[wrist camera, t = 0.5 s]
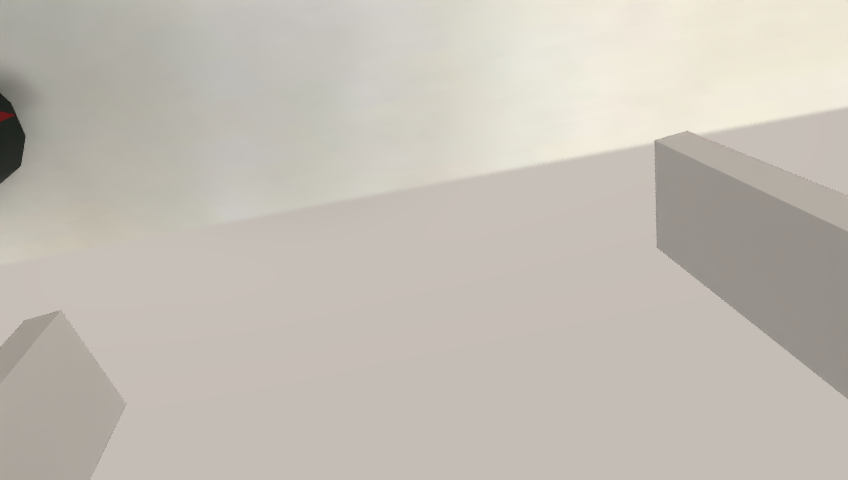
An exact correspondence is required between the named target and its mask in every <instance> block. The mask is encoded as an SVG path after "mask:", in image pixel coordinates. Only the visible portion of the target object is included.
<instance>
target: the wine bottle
mask: <svg viewBox="0 0 848 480" xmlns="http://www.w3.org/2000/svg"><path fill="white" fill-rule="evenodd" d="M24 142H25V134H24V132H23V129H22V127H21V125H20V123H19V121H18V118H17V116H16V114H15V112H14V109H13V107H12V105H11V103H10V102H9V101H8V100H7V99H6V98H5V97H3V96H2V95H1V94H0V183H2V182H3V181H4V180H5V179H6V178H7V177H8V176H10V175H11V174H12V173H13V172H14V171H15V170H17V169H18V168H19V167H20V166H21V161H22V154H23V148H24Z"/></svg>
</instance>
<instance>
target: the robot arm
mask: <svg viewBox="0 0 848 480" xmlns="http://www.w3.org/2000/svg"><path fill="white" fill-rule="evenodd" d="M655 182H656V227H657V228H656V229H657V248H658V249H660V250H661V251H662V252H663V253H665V254H666V255H667V256H668V257H670V258H671V259H672V260H673V261H675V262H676V263H677V264H678V265H680V266H681V267H682V268H683V269H685V270H686V271H687V272H688V273H690V274H691V275H692V276H694V277H695V278H696V279H697V280H699V281H700V282H701V283H702V284H704V285H705V286H706V287H707V288H709V289H710V290H711V291H712V292H714V293H715V294H716V295H718V296H719V297H720V298H721V299H722V300H724V301H725V302H726V303H728V304H729V305H730V306H731V307H733V308H734V309H735V310H736V311H738V312H739V313H740V314H741V315H743V316H744V317H745V318H747V319H748V320H749V321H750V322H751V323H753V324H754V325H755V326H757V327H758V328H759V329H760V330H762V331H763V332H764V333H765V334H767V335H768V336H769V337H771V338H772V339H773V340H774V341H776V342H777V343H778V344H779V345H780V346H782V347H783V348H784V349H786V350H787V351H788V352H789V353H791V354H792V355H793V356H794V357H796V358H797V359H798V360H799V361H801V362H802V363H803V364H804V365H806V366H807V367H808V368H809V369H811V370H812V371H813V372H814V373H816V374H817V375H818V376H820V377H821V378H822V379H823V380H825V381H826V382H827V383H828V384H830V385H831V386H832V387H833V388H835V389H836V390H837V391H838V392H840V393H841V394H842V395H844V396H845V397H846V398H847V399H848V195H845V194H843V193H840V192H838V191H835V190H833V189H830V188H828V187H825V186H823V185H820V184H818V183H815V182H813V181H811V180H808V179H805V178H803V177H801V176H798V175H796V174H793V173H791V172H788V171H785V170H783V169H781V168H778V167H776V166H773V165H770V164H768V163H766V162H763V161H761V160H758V159H756V158H753V157H751V156H748V155H746V154H743V153H741V152H738V151H736V150H733V149H731V148H728V147H726V146H724V145H721V144H719V143H716V142H713V141H711V140H708V139H706V138H704V137H701V136H699V135H696V134H694V133H691V132H689V131H685V132H682V133H678V134H675V135H672V136H668V137H665V138H661V139H658V140H655ZM125 406H126V403H125V402H124V400H123V398H122V397H121V396H120V394H119V393H118V392H117V390H116V389H115V387H114V386H113V384H112V383H111V381H110V380H109V378H108V377H107V376H106V374H105V373H104V371H103V370H102V368H101V367H100V365H99V364H98V363H97V361H96V360H95V358H94V357H93V355H92V354H91V353H90V351H89V350H88V348H87V347H86V345H85V344H84V342H83V341H82V340H81V338H80V337H79V335H78V334H77V332H76V331H75V329H74V328H73V327H72V325H71V324H70V322H69V321H68V319H67V318H66V317H65V315H64V314H63V312H62V311H61V310H60V311H56V312H53V313H50V314H46V315H43V316H39V317H35V318H32V319H28V320H25V321H24V322H23V323H22V324H21V325H20V326H19V327H18V328H17V329H16V330H15V332H14V333H13V334H12V335H11V336H10V337H9V338H8V339H7V340H6V342H5V343H4V344H3V345H2V346H1V347H0V480H90V479H91V476H92V474H93V473H94V470H95V468H96V466H97V464H98V462H99V460H100V458H101V456H102V454H103V452H104V450H105V448H106V446H107V443H108V441H109V439H110V437H111V435H112V433H113V431H114V429H115V427H116V424H117V423H118V421H119V419H120V416H121V414H122V412H123V410H124V408H125Z"/></svg>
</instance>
